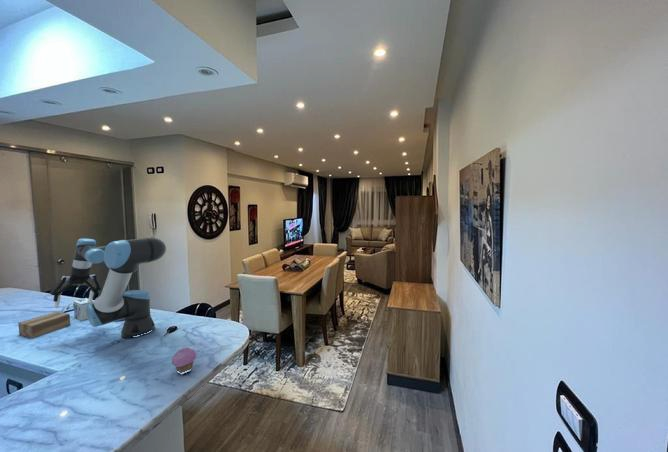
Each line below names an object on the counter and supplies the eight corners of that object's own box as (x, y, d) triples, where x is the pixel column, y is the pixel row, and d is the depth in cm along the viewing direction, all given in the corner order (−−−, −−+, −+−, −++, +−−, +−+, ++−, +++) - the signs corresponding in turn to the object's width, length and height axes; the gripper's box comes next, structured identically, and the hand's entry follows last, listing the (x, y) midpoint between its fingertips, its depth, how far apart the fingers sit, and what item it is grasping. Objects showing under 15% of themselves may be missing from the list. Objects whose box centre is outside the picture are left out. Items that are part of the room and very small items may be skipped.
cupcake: (191, 363, 117) (190, 342, 116) (200, 371, 112) (199, 349, 111) (169, 373, 110) (168, 350, 110) (177, 382, 105) (176, 358, 104)
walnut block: (70, 325, 155) (69, 314, 154) (32, 338, 140) (31, 325, 139) (57, 322, 159) (56, 311, 158) (19, 335, 143) (18, 322, 143)
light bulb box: (74, 317, 166) (72, 300, 165) (87, 313, 172) (86, 297, 171) (81, 321, 161) (80, 303, 160) (95, 316, 167) (94, 300, 166)
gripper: (106, 264, 155) (99, 298, 156) (46, 266, 133) (38, 306, 134) (112, 267, 152) (105, 303, 152) (51, 270, 130) (43, 311, 130)
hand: (73, 304), depth 143 cm, fingers open, 13 cm apart
